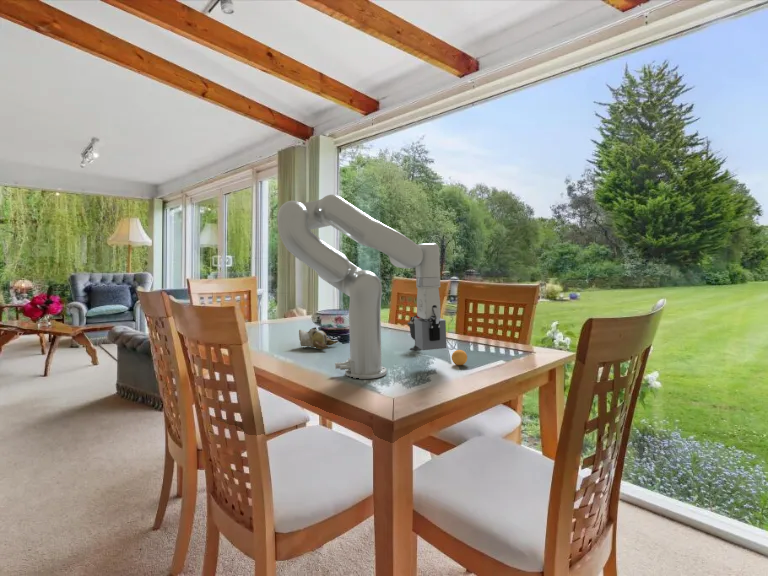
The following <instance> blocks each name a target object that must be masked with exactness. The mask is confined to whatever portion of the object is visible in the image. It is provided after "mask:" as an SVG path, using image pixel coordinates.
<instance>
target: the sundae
mask: <svg viewBox="0 0 768 576" xmlns="http://www.w3.org/2000/svg"><path fill="white" fill-rule="evenodd" d="M415 318H420V317H418V316H417V314H416V315H413V316H410V321H408V322H407V325H408V326H409V333H410V336H411V338H412V340H414V341H415V321H414V319H415ZM409 350H410V351H423V350H422V349H420V348H419V347H417V346H416V345H415V344H414V346H413V347H410V348H409Z"/></svg>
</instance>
